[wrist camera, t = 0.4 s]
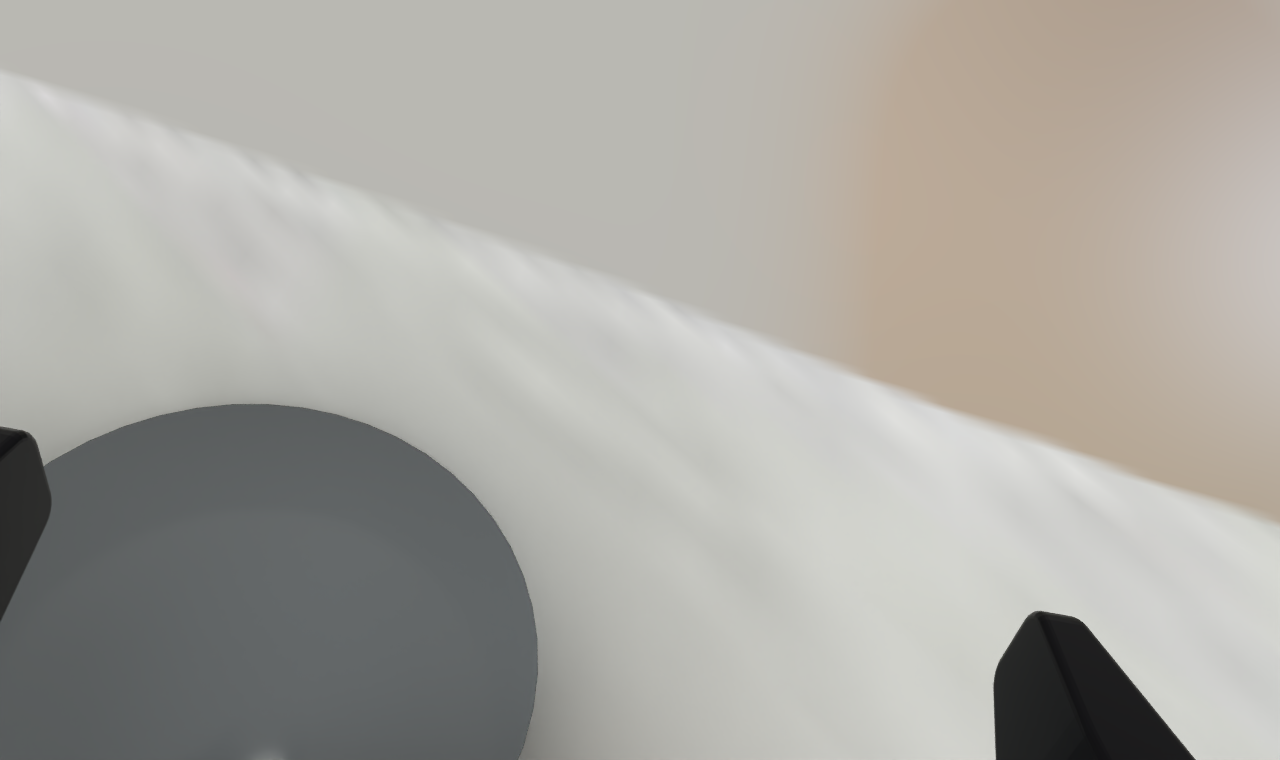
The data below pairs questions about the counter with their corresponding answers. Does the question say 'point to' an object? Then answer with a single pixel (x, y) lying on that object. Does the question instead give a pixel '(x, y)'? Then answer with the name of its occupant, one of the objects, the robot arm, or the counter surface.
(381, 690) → the slate dish
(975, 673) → the counter surface
